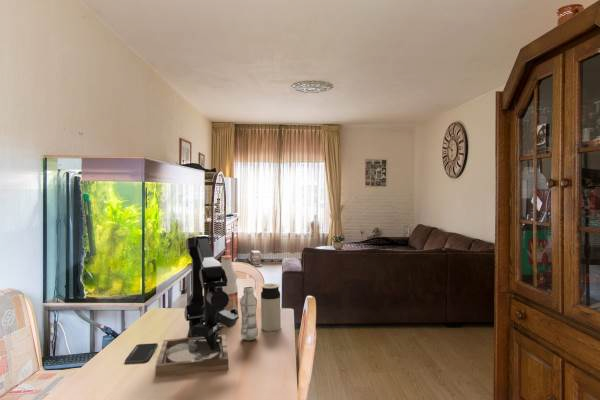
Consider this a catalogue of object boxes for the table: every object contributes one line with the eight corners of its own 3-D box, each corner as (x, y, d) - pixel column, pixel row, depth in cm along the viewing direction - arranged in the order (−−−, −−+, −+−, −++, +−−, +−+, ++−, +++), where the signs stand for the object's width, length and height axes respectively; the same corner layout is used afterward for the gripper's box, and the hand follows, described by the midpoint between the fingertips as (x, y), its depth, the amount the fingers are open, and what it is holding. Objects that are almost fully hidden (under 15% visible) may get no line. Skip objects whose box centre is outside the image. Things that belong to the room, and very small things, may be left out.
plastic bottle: (255, 343, 148) (254, 290, 147) (237, 342, 149) (237, 289, 149) (260, 336, 154) (259, 286, 154) (243, 335, 156) (243, 285, 155)
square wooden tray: (163, 349, 143) (163, 339, 143) (225, 343, 148) (225, 333, 148) (156, 377, 121) (155, 365, 121) (228, 369, 126) (228, 357, 126)
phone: (123, 361, 131) (136, 344, 146) (123, 365, 131) (137, 347, 146) (148, 360, 132) (158, 342, 147) (148, 363, 132) (159, 345, 147)
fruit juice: (212, 318, 178) (211, 256, 177) (230, 313, 184) (229, 253, 183) (224, 323, 171) (223, 258, 170) (242, 318, 177) (241, 256, 177)
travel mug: (273, 333, 158) (272, 288, 158) (257, 329, 162) (256, 286, 162) (284, 327, 165) (283, 284, 165) (269, 323, 169) (268, 282, 169)
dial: (156, 364, 127) (156, 349, 127) (180, 343, 145) (179, 329, 144) (210, 367, 125) (210, 351, 124) (227, 344, 142) (227, 331, 142)
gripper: (221, 311, 121) (222, 362, 120) (245, 297, 139) (246, 342, 138) (189, 309, 124) (189, 359, 123) (217, 296, 142) (217, 340, 141)
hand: (212, 349), depth 131 cm, fingers closed
